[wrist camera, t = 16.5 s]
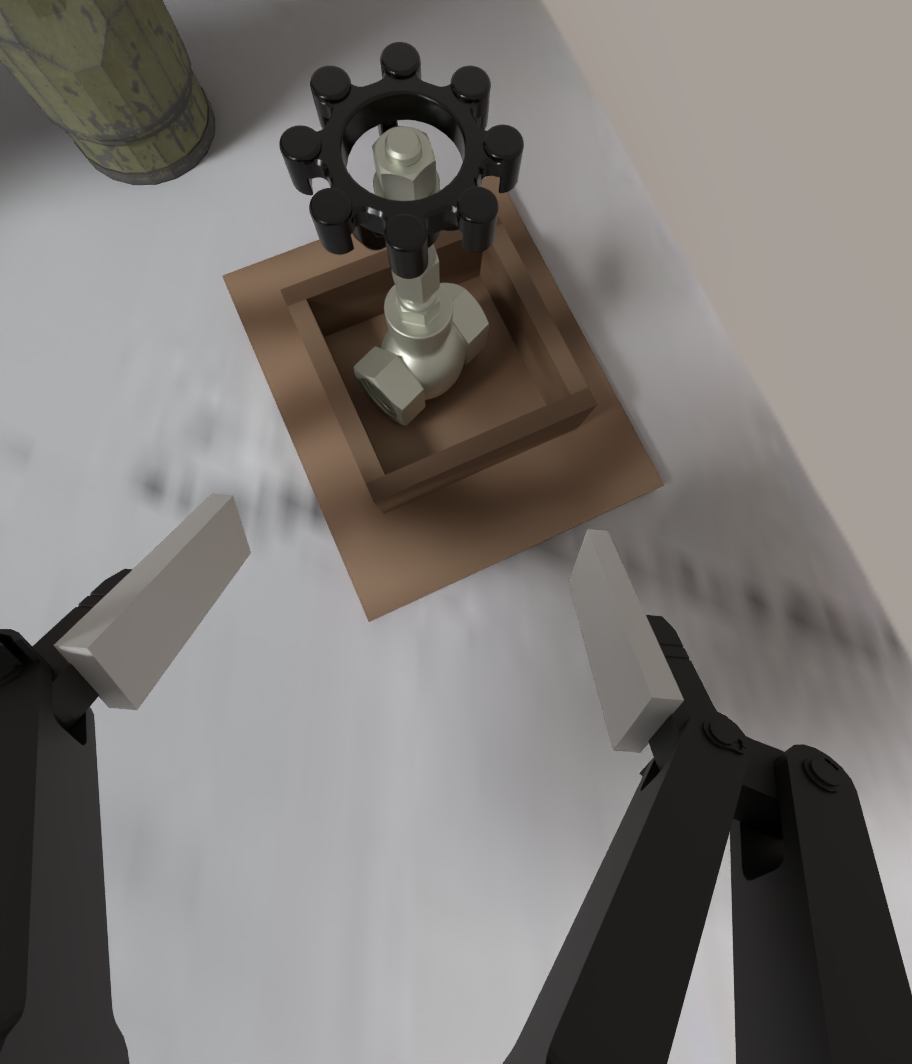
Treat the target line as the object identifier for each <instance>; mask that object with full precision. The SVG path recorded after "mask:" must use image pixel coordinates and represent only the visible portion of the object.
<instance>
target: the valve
mask: <svg viewBox="0 0 912 1064" xmlns="http://www.w3.org/2000/svg"><path fill="white" fill-rule="evenodd" d="M380 62H381V70H382V80H380V81H379V82H376V83H373V84H370V85H367V86H364V87H357V86H354V85H352V84H351V80H350V78H349V76H348V74H347V73H346V72H345V71H344V70H343V69H341V68H339V67H336V66H324V67H321V68H319V69H318V70H316V71H315V72H314V73H313V75H312V77H311V81H310V87H311V91H312V95H313V99H314V102H315V106H316V110H317V113H318V117H319V121H320V124H321V127H322V130H321V131H318V132H316V131H314V130H313V129H312V128H309V127H307V126H293V127H291V128H289V129H287V130H286V131H285V132H284V133H283V134H282V136H281V138H280V150H281V153H282V156H283V158H284V161H285V164H286V166H287V169H288V172H289V174H290V177H291V179H292V182H293V184H294V186H295V188H296V189H297V190H298V191H300V192H301V193H303V194H306V195H313V188H312V178H317V177H321V178H324V179H326V180H327V181H328V182H329V185H330V188H326V189H322V190H320V191H318V192H317V193H316V194H315V195H314V196H313V197H312V199H311V201H310V205H309V210H310V214H311V217H312V220H313V222H314V225H315V228H316V231H317V233H318V236H319V239H320V242H321V244H322V246H323V247H324V248H325V249H326V250H327V251H328V252H330V253H333V254H337V255H343V254H347V253H349V252H351V251H352V250H354V245H353V241H352V238H351V234H353V236H354V237H355V238H356V239H357V240H358V241H359V242H360V243H361V244H363V245H364V246H365V247H366V248H367V249H370V250H373V251H378V250H382V249H384V248H386V249H387V254H388V260H389V265H390V268H391V270H392V276H393V280H394V283H395V285H394V286H393V287H392V288H391V289H390V290H389V292H388V294H387V296H386V299H385V303H384V313H385V317H386V322H387V326H388V331H387V333H386V334H385V337H384V339H383V342H382V346H381V348H378V347H376V346H375V347H374V348H372V349H371V350H370V351H369V352H368V353H367V354H366V355H365V356H364V357H363V358H362V359H361V360H360V361H359V362H358V363H357V364H356V365H355V366H354V373H355V377H356V380H357V382H358V383H359V385H360V387H361V388H362V389H363V391H364V392H365V393H366V395H367V396H368V397H369V398H370V399H371V401H372V402H373V403H374V404H375V405H376V406H377V407H378V408H379V409H380V410H381V411H382V412H383V413H384V414H385V415H387V416H388V417H389V418H390V419H392V420H393V421H394V422H396V423H398V424H401V425H405V426H407V425H408V424H409V423H410V422H411V421H412V420H413V419H414V418H415V417H416V416H417V415H418V414H419V413H420V412H421V411H422V410H423V409H424V408H425V407H426V406H425V400H428V399H432V398H435V397H438V396H440V395H441V394H443V393H444V392H446V391H447V390H448V389H449V388H450V387H451V386H452V385H453V384H454V383H455V382H456V380H457V379H458V377H459V375H460V373H461V371H462V368H463V365H464V364H465V365H467V364H468V363H469V362H470V361H471V360H472V359H473V358H474V357H475V356H476V355H477V354H478V353H479V352H480V351H481V350H482V349H483V348H484V347H485V345H486V342H487V338H488V334H489V323H488V321H487V318H486V316H485V314H484V312H483V310H482V308H481V307H480V305H479V304H478V302H477V301H476V300H475V298H474V297H473V296H472V295H471V294H470V293H469V292H468V291H467V290H466V289H465V288H463V287H462V286H459V285H456V284H452V283H440V278H439V259H438V256H437V253H436V249H435V247H434V243H435V241H436V240H437V238H438V236H439V233H440V231H441V230H443V231H457V230H460V231H461V232H462V248H463V249H465V250H467V251H469V252H473V253H478V252H483V251H485V250H487V249H488V248H489V247H490V246H491V245H492V243H493V241H494V238H495V231H496V224H497V217H498V210H499V204H498V200H497V198H496V196H495V195H494V194H493V193H492V192H491V191H490V190H488V189H486V188H483V187H481V186H482V179H483V178H484V177H486V176H495V177H499V191H498V192H499V193H505V192H508V191H510V190H512V189H513V188H514V187H515V185H516V183H517V181H518V175H519V170H520V164H521V159H522V153H523V147H524V142H523V138H522V136H521V134H520V132H519V131H518V130H517V129H515V128H514V127H512V126H509V125H497V126H494V127H492V128H491V129H489V130H488V131H485V128H486V126H487V120H488V110H489V99H490V87H491V84H490V79H489V77H488V75H487V74H486V72H485V71H484V70H482V69H481V68H478V67H475V66H464V67H462V68H460V69H458V70H457V71H456V72H455V73H454V74H453V76H452V79H451V84H450V85H448V86H444V87H438V86H435V85H432V84H429V83H426V82H424V81H422V80H421V62H420V56H419V53H418V51H417V50H416V49H415V48H414V47H413V46H412V45H410V44H408V43H404V42H395V43H392V44H389V45H388V46H386V47H385V49H384V50H383V51H382V54H381V58H380ZM397 120H416V121H420V122H424V123H427V124H429V125H432V126H434V127H436V128H437V129H439V130H440V131H442V132H443V133H445V134H446V135H447V136H448V137H449V138H450V139H451V140H452V141H453V142H454V144H455V145H456V147H457V148H458V150H459V152H460V154H461V157H462V161H463V164H462V167H461V169H460V171H459V172H458V174H457V176H456V177H455V178H454V179H453V180H452V181H451V183H450V184H449V185H447V186H446V187H445V188H443V189H442V190H441V191H440V179H439V176H438V173H437V171H436V160H435V156H434V153H433V149H432V146H431V143H430V141H429V138H428V136H427V134H426V133H424V132H422V131H419V130H417V129H414V128H411V127H403V126H398V122H397ZM377 125H378V129H379V135H380V137H379V138H378V139H377V141H376V142H375V143H374V145H373V146H372V150H373V156H374V162H375V168H376V173H375V175H374V180H373V187H374V192H375V194H373V193H370V192H369V191H367V190H366V189H364V188H363V187H361V186H360V185H359V184H358V183H357V182H356V181H355V180H354V179H353V178H352V177H351V176H350V174H349V173H348V171H347V169H346V167H347V161H348V156H349V154H350V151H351V149H352V147H353V145H354V144H355V142H356V141H357V140H358V139H359V138H360V137H361V136H362V135H363V134H364V133H365V132H366V131H368V130H369V129H371V128H373V127H375V126H377Z"/></svg>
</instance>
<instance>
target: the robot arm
mask: <svg viewBox="0 0 912 1064" xmlns="http://www.w3.org/2000/svg"><path fill="white" fill-rule="evenodd" d="M250 553H251V551H250V548H249V545H248V542H247V538H246V535H245V532H244V529H243V526H242V523H241V519H240V516H239V513H238V510H237V507H236V503H235V500H234V497H233V496H232V495H221V494H211V495H210V496H209V497H208V498H207V499H206V500H205V501H204V502H203V503H202V504H201V505H200V506H199V507H198V508H196V509H195V510H194V511H193V512H192V513H191V514H190V515H189V516H188V517H187V518H186V519H185V520H184V521H183V522H182V523H181V524H180V525H179V526H178V527H177V528H176V529H175V530H174V531H172V532H171V533H170V534H169V535H168V536H167V537H166V538H165V539H164V540H163V541H162V542H161V543H160V544H159V545H158V546H157V547H156V548H155V549H154V550H153V551H152V552H151V553H149V554H148V555H147V556H146V557H145V558H144V559H143V560H142V561H141V562H140V563H139V564H138V565H137V566H136V567H135V568H134V569H124V570H122V571H120V572H118V573H117V574H115V575H113V576H111V577H109V578H108V579H106V580H105V581H103V582H102V583H101V584H100V585H99V586H98V587H97V588H96V589H95V590H94V591H93V592H91V595H90V596H87V597H86V598H85V599H84V600H83V601H82V602H81V603H79V604H78V605H79V606H78V607H75V608H74V609H73V610H72V611H71V612H70V613H69V614H67V615H66V616H65V617H64V618H63V619H62V620H61V621H60V622H59V623H58V624H56V625H55V626H54V627H53V628H52V629H51V630H50V631H49V632H48V633H47V634H46V635H44V636H43V637H42V638H41V639H40V640H39V641H38V642H37V643H36V644H35V645H34V646H31V645H30V644H29V643H28V642H27V641H26V640H25V639H24V638H23V637H22V635H21V634H20V633H19V632H16V631H14V630H12V629H0V1064H129V1057H128V1050H127V1046H126V1043H125V1040H124V1036H123V1035H122V1033H121V1031H120V1029H119V1028H118V1026H117V1024H116V1022H115V1019H114V1016H113V1010H112V999H111V982H110V966H109V950H108V934H107V917H106V901H105V885H104V869H103V852H102V836H101V820H100V804H99V787H98V771H97V755H96V739H95V722H94V714H93V712H92V709H91V708H90V706H91V704H92V703H93V702H94V701H95V700H96V698H97V697H98V696H99V697H100V698H101V699H102V700H103V701H104V703H105V704H106V705H107V706H108V707H109V708H120V709H132V710H138V708H139V707H140V706H141V704H142V703H143V701H144V700H145V699H146V697H147V696H148V694H149V693H150V692H151V690H152V689H153V688H154V686H155V685H156V683H157V682H158V681H159V679H160V678H161V676H162V675H163V674H164V672H165V671H166V670H167V668H168V667H169V665H170V664H171V663H172V661H173V660H174V658H175V657H176V656H177V654H178V653H179V652H180V650H181V649H182V647H183V646H184V645H185V643H186V642H187V641H188V639H189V638H190V636H191V635H192V634H193V632H194V631H195V629H196V628H197V627H198V625H199V624H200V623H201V621H202V620H203V618H204V617H205V616H206V614H207V613H208V611H209V610H210V609H211V607H212V606H213V605H214V603H215V602H216V600H217V599H218V598H219V596H220V595H221V593H222V592H223V591H224V589H225V588H226V587H227V585H228V584H229V582H230V581H231V580H232V578H233V577H234V575H235V574H236V573H237V571H238V570H239V569H240V567H241V566H242V564H243V563H244V562H245V560H246V559H247V557H248V556H249V555H250ZM568 583H569V586H570V590H571V594H572V598H573V601H574V605H575V609H576V613H577V616H578V620H579V624H580V628H581V631H582V635H583V639H584V643H585V646H586V650H587V654H588V658H589V661H590V665H591V669H592V673H593V676H594V680H595V684H596V688H597V691H598V695H599V699H600V703H601V706H602V710H603V714H604V718H605V721H606V725H607V729H608V733H609V736H610V740H611V744H612V748H613V750H616V751H628V752H641V751H642V750H643V749H644V748H645V746H646V745H647V744H648V743H649V744H650V747H651V750H652V753H653V756H654V758H653V759H652V760H651V761H650V762H649V763H648V764H647V766H646V767H645V768H644V769H643V770H642V771H641V772H640V774H641V775H642V776H643V777H642V779H641V782H640V784H639V786H638V788H637V790H636V792H635V794H634V796H633V798H632V801H631V803H630V805H629V807H628V809H627V811H626V813H625V815H624V817H623V819H622V822H621V824H620V826H619V828H618V830H617V832H616V834H615V836H614V838H613V841H612V843H611V845H610V847H609V849H608V851H607V853H606V855H605V857H604V859H603V862H602V864H601V866H600V868H599V870H598V872H597V874H596V876H595V878H594V880H593V883H592V885H591V887H590V889H589V891H588V893H587V895H586V897H585V899H584V902H583V904H582V906H581V908H580V910H579V912H578V914H577V916H576V918H575V920H574V923H573V925H572V927H571V929H570V931H569V933H568V935H567V937H566V939H565V942H564V944H563V946H562V948H561V950H560V952H559V954H558V956H557V958H556V960H555V963H554V965H553V967H552V969H551V971H550V973H549V975H548V977H547V979H546V981H545V984H544V986H543V988H542V990H541V992H540V994H539V996H538V998H537V1000H536V1003H535V1005H534V1007H533V1009H532V1011H531V1013H530V1015H529V1017H528V1019H527V1021H526V1024H525V1026H524V1028H523V1030H522V1032H521V1034H520V1036H519V1038H518V1040H517V1042H516V1044H515V1046H514V1047H513V1049H512V1051H511V1052H510V1054H509V1055H508V1057H507V1058H506V1059H505V1061H504V1062H503V1064H667V1062H668V1058H669V1054H670V1051H671V1047H672V1043H673V1039H674V1036H675V1032H676V1028H677V1025H678V1021H679V1017H680V1014H681V1010H682V1006H683V1002H684V999H685V995H686V991H687V988H688V984H689V980H690V976H691V973H692V969H693V965H694V962H695V958H696V954H697V951H698V947H699V943H700V939H701V936H702V932H703V928H704V925H705V921H706V917H707V913H708V910H709V906H710V902H711V899H712V895H713V891H714V888H715V884H716V880H717V876H718V873H719V869H720V865H721V862H722V858H723V854H724V850H725V847H726V843H727V839H728V836H729V832H730V852H731V889H732V927H733V964H734V1001H735V1038H736V1064H912V994H911V990H910V986H909V982H908V979H907V975H906V971H905V968H904V964H903V960H902V957H901V953H900V949H899V945H898V942H897V938H896V934H895V931H894V927H893V923H892V920H891V916H890V912H889V908H888V905H887V901H886V897H885V894H884V890H883V886H882V883H881V879H880V875H879V871H878V868H877V864H876V860H875V857H874V853H873V849H872V845H871V842H870V838H869V834H868V831H867V827H866V823H865V820H864V816H863V812H862V808H861V805H860V801H859V797H858V794H857V791H856V788H855V786H854V784H853V782H852V780H851V778H850V777H849V776H848V775H847V773H846V772H845V771H844V770H843V768H842V767H841V766H840V765H839V764H837V763H836V762H835V761H834V760H833V759H832V758H831V757H829V756H828V755H826V754H825V753H823V752H821V751H819V750H818V749H816V748H813V747H810V746H807V745H804V744H803V745H793V746H792V747H791V748H789V749H788V750H787V751H785V752H784V751H781V750H779V749H776V748H774V747H771V746H768V745H766V744H763V743H761V742H758V741H755V740H753V739H751V738H749V737H746V736H745V735H744V733H743V732H742V731H741V730H740V728H739V727H738V726H737V725H736V724H735V723H734V722H733V721H731V720H730V719H729V718H728V717H727V716H725V715H723V714H721V713H719V712H717V710H716V709H715V707H714V706H713V704H712V702H711V700H710V698H709V696H708V694H707V692H706V690H705V688H704V686H703V684H702V682H701V680H700V678H699V676H698V674H697V672H696V670H695V668H694V666H693V664H692V662H691V661H689V656H688V654H687V652H686V650H685V648H683V645H682V643H681V641H680V639H679V637H678V635H677V633H676V631H675V629H674V628H673V627H672V626H671V625H670V624H669V623H668V622H667V621H666V620H665V619H664V618H663V617H662V616H651V615H646V614H645V612H644V610H643V608H642V606H641V603H640V601H639V599H638V597H637V594H636V592H635V590H634V588H633V586H632V583H631V581H630V579H629V577H628V574H627V572H626V570H625V568H624V566H623V563H622V561H621V559H620V557H619V554H618V552H617V550H616V548H615V546H614V543H613V541H612V539H611V537H610V534H609V532H608V531H605V530H594V529H587V532H586V534H585V537H584V540H583V543H582V545H581V548H580V551H579V554H578V556H577V559H576V562H575V565H574V567H573V570H572V573H571V576H570V578H569V581H568Z"/></svg>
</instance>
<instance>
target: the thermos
mask: <svg viewBox="0 0 912 1064" xmlns="http://www.w3.org/2000/svg"><path fill="white" fill-rule="evenodd" d="M0 61H1V62H2V63H3V64H4V65H5V66H6V68H7V69H8V70H9V71H10V72H11V74H12V75H13V76H14V77H15V78H16V79H17V81H18V82H19V83H20V84H21V85H22V86H23V88H24V89H25V90H26V91H27V92H28V94H29V95H30V96H31V97H32V98H33V99H34V101H35V102H36V103H37V104H38V105H39V106H40V108H41V109H42V110H43V111H44V112H45V114H46V115H47V116H48V117H49V118H50V119H51V121H52V122H54V123H55V124H57V125H59V126H60V127H61V128H62V129H64V130H65V131H66V132H67V133H68V134H69V136H70V137H71V138H72V139H73V140H74V142H75V144H76V145H77V147H78V148H79V149H80V150H81V152H82V153H83V154H84V155H85V157H86V158H87V159H88V160H89V161H90V163H91V164H92V165H93V166H94V167H95V169H97V170H98V171H100V172H102V173H103V174H105V175H106V176H108V177H110V178H111V179H113V180H117V181H121V182H125V183H128V184H132V185H145V184H158V183H161V182H165V181H168V180H172V179H175V178H177V177H179V176H180V175H182V174H184V173H185V172H187V171H188V170H190V169H192V168H193V167H194V166H195V165H196V164H197V163H198V162H199V161H200V160H201V159H202V157H203V156H204V155H205V154H206V153H207V151H208V149H209V146H210V144H211V142H212V139H213V137H214V123H215V117H214V114H213V112H212V109H211V106H210V103H209V101H208V99H207V97H206V95H205V93H204V90H203V89H202V88H201V86H200V85H199V83H198V81H197V79H196V77H195V75H194V73H193V71H192V69H191V62H190V59H189V57H188V54H187V51H186V48H185V46H184V43H183V41H182V39H181V37H180V35H179V33H178V31H177V29H176V27H175V25H174V23H173V21H172V19H171V17H170V14H169V12H168V10H167V8H166V6H165V4H164V2H163V0H0Z"/></svg>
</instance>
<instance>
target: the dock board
mask: <svg viewBox="0 0 912 1064" xmlns="http://www.w3.org/2000/svg"><path fill="white" fill-rule="evenodd" d="M481 187H483V188H486V189H488V190H490V191H491V192H492V193H493V194H494V195H495V196H496V198H497V200H498V204H499V210H498V217H497V224H496V231H495V238H494V241H493V243H492V245H491V246H490V247H489V248H488V249H487V250H485V251H483V252H478V253H473V252H469V251H467V250H465V249H463V248H462V232H461V231H460V230H457V231H443V230H441V231H440V233H439V236H438V238H437V240H436V241H435V243H434V247H435V249H436V253H437V256H438V259H439V278H440V283H452V284H456V285H459V286H462V287H463V288H465V289H466V290H467V291H468V292H469V293H470V294H471V295H472V296H473V297H474V298H475V300H476V301H477V302H478V304H479V305H480V307H481V308H482V310H483V312H484V314H485V316H486V318H487V321H488V323H489V334H488V338H487V342H486V345H485V347H484V348H483V349H482V350H481V351H480V352H479V353H478V354H477V355H476V356H475V357H474V358H473V359H472V360H471V361H470V362H469V363H468V364H467V365H465V364H464V365H463V368H462V371H461V373H460V375H459V377H458V379H457V380H456V382H455V383H454V384H453V385H452V386H451V387H450V388H449V389H448V390H447V391H446V392H444V393H443V394H441V395H440V396H438V397H435V398H432V399H428V400H425V406H426V407H425V408H424V409H423V410H422V411H421V412H420V413H419V414H418V415H417V416H416V417H415V418H414V419H413V420H412V421H411V422H410V423H409V424H408V425H407V426H405V425H401V424H398V423H396V422H394V421H393V420H392V419H390V418H389V417H388V416H387V415H385V414H384V413H383V412H382V411H381V410H380V409H379V408H378V407H377V406H376V405H375V404H374V403H373V402H372V401H371V399H370V398H369V397H368V396H367V395H366V393H365V392H364V391H363V389H362V388H361V387H360V385H359V383H358V382H357V380H356V377H355V373H354V366H355V365H356V364H357V363H358V362H359V361H360V360H361V359H362V358H363V357H364V356H365V355H366V354H367V353H368V352H369V351H370V350H371V349H372V348H374V347H375V346H376V347H378V348H381V346H382V342H383V339H384V337H385V334H386V333H387V331H388V326H387V322H386V317H385V313H384V303H385V299H386V296H387V294H388V292H389V290H390V289H391V288H392V287H393V286H394V285H395V283H394V280H393V276H392V270H391V268H390V265H389V260H388V254H387V249H386V248H384V249H382V250H378V251H373V250H370V249H367V248H366V247H365V246H364V245H363V244H361V243H360V242H359V241H358V240H357V239H356V238H355V237H354V236H353V234H351V238H352V241H353V245H354V250H352V251H351V252H349V253H347V254H343V255H337V254H333V253H330V252H328V251H327V250H326V249H325V248H324V247H323V246H322V244H321V242H320V240H317V241H314V242H312V243H309V244H306V245H304V246H301V247H298V248H296V249H293V250H290V251H288V252H285V253H282V254H279V255H277V256H274V257H271V258H269V259H266V260H263V261H261V262H258V263H255V264H253V265H250V266H247V267H245V268H242V269H239V270H237V271H234V272H231V273H228V274H226V275H223V279H224V281H225V283H226V286H227V288H228V290H229V293H230V295H231V298H232V300H233V302H234V305H235V307H236V309H237V312H238V314H239V316H240V319H241V321H242V324H243V326H244V328H245V331H246V333H247V335H248V338H249V340H250V342H251V345H252V347H253V349H254V352H255V354H256V357H257V359H258V361H259V364H260V366H261V368H262V371H263V373H264V375H265V378H266V380H267V383H268V385H269V387H270V390H271V392H272V394H273V397H274V399H275V401H276V404H277V406H278V409H279V411H280V413H281V416H282V418H283V420H284V423H285V425H286V427H287V430H288V432H289V434H290V437H291V439H292V442H293V444H294V446H295V449H296V451H297V453H298V456H299V458H300V460H301V463H302V465H303V468H304V470H305V472H306V475H307V477H308V479H309V482H310V484H311V486H312V489H313V491H314V493H315V496H316V498H317V501H318V503H319V505H320V508H321V510H322V512H323V515H324V517H325V519H326V522H327V524H328V527H329V529H330V531H331V534H332V536H333V538H334V541H335V543H336V545H337V548H338V550H339V552H340V555H341V557H342V560H343V562H344V564H345V567H346V569H347V571H348V574H349V576H350V578H351V581H352V583H353V586H354V588H355V590H356V593H357V595H358V597H359V600H360V602H361V604H362V607H363V609H364V612H365V614H366V616H367V619H368V621H369V622H370V621H372V620H374V619H377V618H379V617H381V616H383V615H385V614H387V613H389V612H392V611H394V610H396V609H398V608H400V607H402V606H405V605H407V604H409V603H411V602H413V601H415V600H418V599H420V598H422V597H424V596H426V595H428V594H430V593H433V592H435V591H437V590H439V589H441V588H443V587H446V586H448V585H450V584H452V583H454V582H456V581H458V580H461V579H463V578H465V577H467V576H469V575H471V574H474V573H476V572H478V571H480V570H482V569H484V568H487V567H489V566H491V565H493V564H495V563H497V562H499V561H502V560H504V559H506V558H508V557H510V556H512V555H515V554H517V553H519V552H521V551H523V550H525V549H528V548H530V547H532V546H534V545H536V544H538V543H540V542H543V541H545V540H547V539H549V538H551V537H553V536H556V535H558V534H560V533H562V532H564V531H566V530H569V529H571V528H573V527H575V526H577V525H579V524H581V523H584V522H586V521H588V520H590V519H592V518H594V517H597V516H599V515H601V514H603V513H605V512H607V511H609V510H612V509H614V508H616V507H618V506H620V505H622V504H625V503H627V502H629V501H631V500H633V499H635V498H638V497H640V496H642V495H644V494H646V493H648V492H650V491H653V490H655V489H657V488H659V487H661V486H663V485H664V484H663V482H662V481H661V479H660V477H659V475H658V473H657V471H656V469H655V467H654V466H653V464H652V462H651V460H650V458H649V456H648V454H647V453H646V451H645V449H644V447H643V445H642V443H641V441H640V439H639V438H638V436H637V434H636V432H635V430H634V428H633V426H632V425H631V423H630V421H629V419H628V417H627V415H626V413H625V411H624V410H623V408H622V406H621V404H620V402H619V400H618V398H617V397H616V395H615V393H614V391H613V389H612V387H611V385H610V383H609V382H608V380H607V378H606V376H605V374H604V372H603V370H602V369H601V367H600V365H599V363H598V361H597V359H596V357H595V356H594V354H593V352H592V350H591V348H590V346H589V344H588V342H587V341H586V339H585V337H584V335H583V333H582V331H581V329H580V328H579V326H578V324H577V322H576V320H575V318H574V316H573V314H572V313H571V311H570V309H569V307H568V305H567V303H566V301H565V300H564V298H563V296H562V294H561V292H560V290H559V288H558V286H557V285H556V283H555V281H554V279H553V277H552V275H551V273H550V272H549V270H548V268H547V266H546V264H545V262H544V260H543V258H542V257H541V255H540V253H539V251H538V249H537V247H536V245H535V244H534V242H533V240H532V238H531V236H530V234H529V232H528V230H527V229H526V227H525V225H524V223H523V221H522V219H521V217H520V216H519V214H518V212H517V210H516V208H515V206H514V204H513V202H512V201H511V199H510V197H509V195H508V193H507V192H505V193H499V192H498V191H499V177H495V176H489V177H486V178H484V179H482V186H481Z"/></svg>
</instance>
